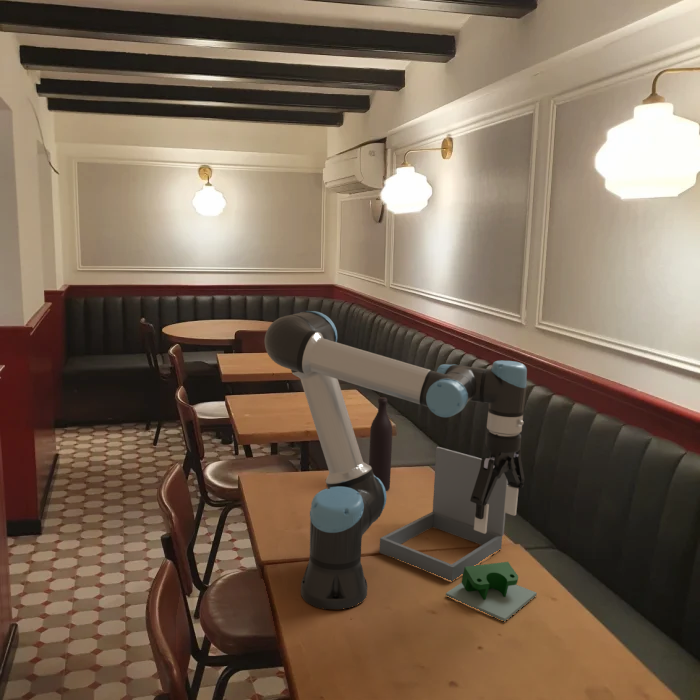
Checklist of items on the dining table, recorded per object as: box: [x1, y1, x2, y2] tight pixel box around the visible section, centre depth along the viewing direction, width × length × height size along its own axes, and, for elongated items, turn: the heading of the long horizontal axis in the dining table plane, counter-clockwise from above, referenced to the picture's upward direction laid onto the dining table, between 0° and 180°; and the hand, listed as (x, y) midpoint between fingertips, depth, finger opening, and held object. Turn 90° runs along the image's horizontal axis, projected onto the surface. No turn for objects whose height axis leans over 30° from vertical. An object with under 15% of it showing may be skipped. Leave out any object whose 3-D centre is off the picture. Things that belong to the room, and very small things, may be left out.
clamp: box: [461, 561, 519, 600], centre depth 157 cm, size 12×6×9 cm, turn 101°
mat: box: [445, 582, 537, 621], centre depth 158 cm, size 15×15×1 cm
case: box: [378, 446, 509, 581], centre depth 178 cm, size 25×22×23 cm
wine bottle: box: [368, 396, 393, 492], centre depth 219 cm, size 7×7×30 cm
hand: (495, 522), depth 155 cm, fingers open, 13 cm apart
